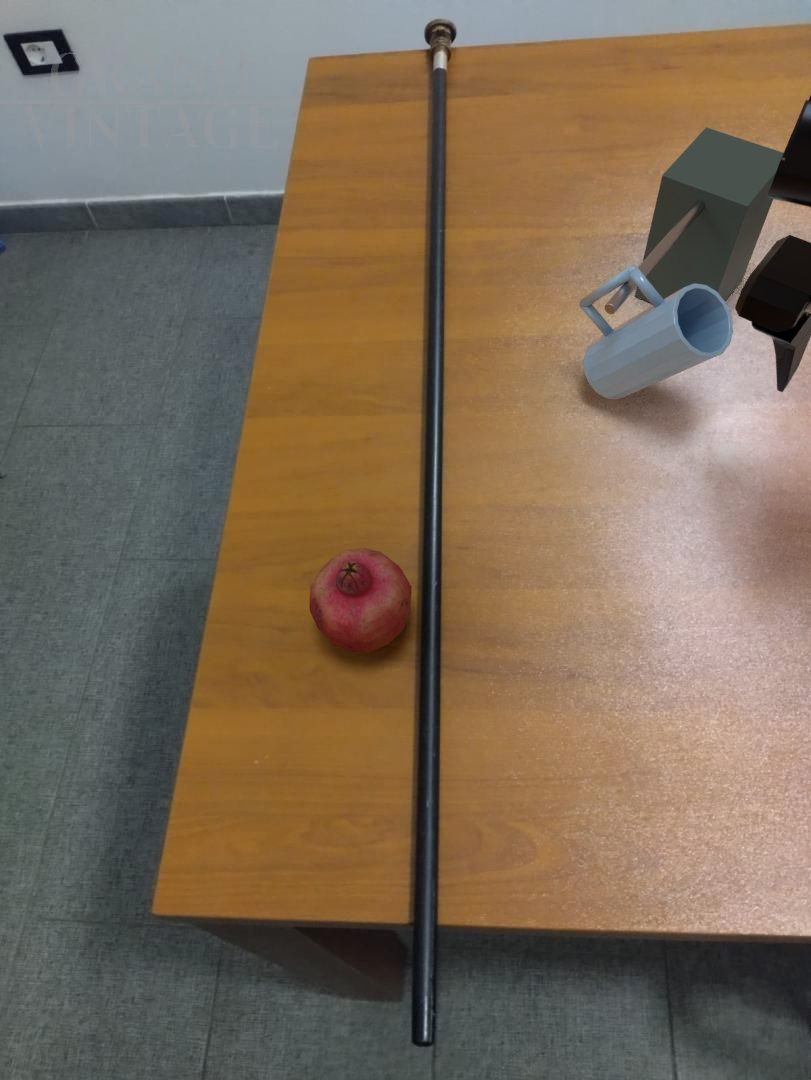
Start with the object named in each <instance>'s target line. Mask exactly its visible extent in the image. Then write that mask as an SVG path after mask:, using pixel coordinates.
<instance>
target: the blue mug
mask: <svg viewBox="0 0 811 1080" xmlns="http://www.w3.org/2000/svg"><path fill="white" fill-rule="evenodd" d="M638 267H639V266H637V265H636V264H635V265H634V264H631V265H629V266H628V267H626V268H624V270H621V271H620V272H619V273H618V274H616V275H615V276H613V277H612V278H610V279H609V280H607V281H606V282H604V283H603V284H602V285H600V286H599V287H597V288H596V289H594V290H592V291H590V293H589V294H587V295H585V296H584V297H582V298H581V299H580V300H579V302H578V306H579V308H580V309H581V311H583V312H584V314H585V315H586V316H587V317H588V318H589V319H590V320H591V322H592V323H593V324H594V325H595V326H596V327H597V329H598V330H599V331H600V332H601V334H602V335H600V336H599V337H597V338H596V339H594V340H593V341H592V342H590V344H589V345H588V346H587V348H586V350H585V352H584V355H583V363H582V365H583V372H584V375H585V378H586V381H587V382H588V385H589V386H590V387H591V388H592V389H593V391H595V393H597V394H598V395H599V396H601V397H603V398H605V399H608V400H620V399H623V398H625V397H627V396H629V395H633V394H635V393H637V392H639V391H641V390H643V389H645V388H647V387H650V386H652V385H655V384H656V383H657V384H658V383H659V382H661V381H663V380H666V379H668V378H670V377H673V376H675V375H677V374H679V373H682V372H684V371H687V370H688V369H691V368H693V367H695V366H698V365H700V364H702V363H704V362H706V361H709V360H711V359H714V358H716V357H718V356H720V355H723V354H724V353H725V352H726V350H727V349H728V347H729V346H730V345H731V342H732V338H733V334H734V325H733V316H732V313H731V311H730V309H729V306H728V304H727V301H726V302H725V301H724V300H723V299H722V297H721V296H720V295H719V294H718V292H716V291H715V290H713V289H712V288H710V287H708V286H707V285H702V284H691V285H689V286H686V287H684V288H682V289H680V290H679V291H677V292H675V293H674V294H672V295H670V296H668V297H667V298H665V299H663V298H662V297H661V295H660V294H659V293H658V292H657V290H656V289H655V288H654V287H653V286H652V284H651V283H650V282H649V281H648V280H647V278H646V277H645V276H644V275H643V273H642V272H641V271H640V270H639V269H638ZM630 279H632V281H633V282H634V283H635V284H636V285H637V287H638V288H639V289H640V290H641V291H642V293H643V294H644V295H645V296H646V297H647V299H648V300H649V301H650V302H651V303H650V304H651V306H650V307H648V308H646V309H644V310H643V311H641V312H640V313H638V314H636V315H634V316H632V317H631V318H629V319H628V320H626V321H624V322H623V323H621V324H618V325H617V326H616V327H614V328H613V327H612V326H611V325H610V324H609V322H608V321H607V319H605V318H604V317H603V315H602V314H601V313H600V312H599V311H598V310H597V308H596V307H595V306H594V305H593V304H595V303H596V302H599V301H600V300H601V299H603V298H604V297H606V296H608V295H609V294H610V293H612V292H613V291H615V290H616V289H618V288H620V287H621V286H622V285H623V284H624V283H625V282H627V281H628V280H630ZM637 287H636V288H637Z"/></svg>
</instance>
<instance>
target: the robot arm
mask: <svg viewBox="0 0 811 1080" xmlns="http://www.w3.org/2000/svg"><path fill="white" fill-rule="evenodd" d="M795 122H796V123H795V125H794V126H793V130H792V132H791V134H790V137H789V139H788V142H787V144H786V146H785V149H784V150H783V156H782V158H781V161H780V163H779V166H778V168H777V171H776V174H775V176H774V179H773V182H772V185H771V187H770V190H769V193H768V196H767V198H770V199H773V200H775V201H779V202H784V203H788V204H789V203H790V204H793V205H799V206H802V207H806V208H811V94H810V95H809V99H805V101H804V103H803V106H802V108H801V110H800V113H799V115H798V118H797V120H796V121H795ZM734 310H735V312H736V313H737V315H738V317H739V318H742V319H744V320H746V321H749V322H751V326H752V329H753V330H755V331H757V332H759V333H762V334H764V335H765V336H768V337H770V338H771V340H772V344H773V348H774V352H775V371H776V375H775V376H776V390H777V391H778V392H780V393H783V392H784V391H785V390H786V389H787V387H788V385H789V384H790V382H791V380H792V379H793V377H794V375H795V373H796V372H797V370H798V368H799V367H800V364H801V362H802V360H803V357H804V354H805V352H806V349H807V347H808V344H809V342H810V339H811V242H810V241H807V240H806V239H802V238H800V237H796V236H794V235H792V234H788V235H786V236H784V237H782V238H780V239H778V240H776V242H775V243H774V244H773V245H772V247H771V248H770V249H769V250H768V252H767V253H766V254H765V255H764V257H762V259H761V261H760V262H759V263H758V264H757V266H756V267H755V268H754V269H753V271H752V272H751V273H750V275H749V276H748V278H747V279H746V281H745V282H744V285H743V287H742V288H741V290H740V293H739V296H738V299H737V301H736V303H735V306H734Z"/></svg>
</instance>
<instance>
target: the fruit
mask: <svg viewBox="0 0 811 1080" xmlns="http://www.w3.org/2000/svg"><path fill="white" fill-rule="evenodd" d="M412 589H413V588H412V585H411V582H410V581H409V579H408V577H407V576H406V575H405V573H404V571H403V569H402V568H401V566H399V564H397V563H396V562H395V561H394V560H392V559H390V558H389V557H388V556H387V555H386V554H384V553H383V552H382V551H379V550H375V549H371V548H366V547H364V548H363V547H362V548H349V549H347V548H346V549H345V550H343V551H342V552H340V553H339V554H337V555H335V556H333V557H332V558H330V560H328V562H327V563H326V564H325V565H324V566H323V567H322V568H321V569H320V571H319V572H318V574H317V575H316V576H315V578H314V580H313V581H312V582H311V584H310V586H309V603H308V606H309V613H310V615H311V617H312V620H313V621H314V623H315V625H316V627H317V628H318V629H319V631H320V632H321V633H322V634H323V635H324V636H325V638H326V639H327V640H328V641H329V642H330V643H331V644H332V645H333V646H335V647H337V648H340V649H343V650H346V651H349V652H352V653H372V652H374V651H377V650H378V649H381V648H383V647H385V646H387V645H389V644H391V643H392V642H393V640H394V639H396V638H397V637H398V635H400V634H401V633H402V632H403V630H404V628H405V626H406V623H407V620H408V618H409V617H410V613H411V603H412Z"/></svg>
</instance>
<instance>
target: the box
mask: <svg viewBox="0 0 811 1080" xmlns="http://www.w3.org/2000/svg"><path fill="white" fill-rule="evenodd" d="M783 153H784V151H780V150H776V149H773V148H770V147H767V146H764V145H762V144H758V143H755V142H753V141H749V140H747V139H743V138H740V137H737V136H734V135H731V134H728V133H725V132H721V131H719V130H717V129H716V130H715V129H712V128H710V127H705V128H704V129H703V130H702V131H701V132H700V134H699V135H697V137H696V138H695V139H694V140H693V141H692V142H691V143H690V144H689V145H688V146H687V148H686V149H685V150H684V151H683V152H682V153H681V154H680V155H679V156H678V157H677V159H675V160H674V162H673V163H672V164H671V165H670V166H669V167H668V168H667V169H666V170H665V172H664V173H663V174H662V175H661V181H660V184H659V188H658V193H657V197H656V200H655V205H654V210H653V214H652V218H651V223H650V228H649V232H648V237H647V241H646V246H645V248H644V249H645V250H644V254H643V258H642V262H641V263H640V264H639V265H638V266H637V267H638V269H639V270H640V271H641V272H642V273H643V275H644V276H645V277H646V278H647V280H648V281H649V282H650V283H651V284H652V286H653V287H654V288H655V289H656V290H657V292H658V293H659V294H660V295H661V297H662V298H663V299H665V298H667V297H668V296H670V295H672V294H674V293H675V292H677V291H679V290H680V289H682V288H684V287H686V286H689V285H691V284H702V285H707V286H708V287H710V288H712V289H713V290H715V291H716V292H718V294H719V295H720V296H721V297H722V299H723V300H724V301H725V302H726V303H727V301H728V299H729V298H730V297H731V295H732V294H733V293H734V291H736V289H737V287H739V285H740V284H741V283H742V282H743V280H744V277H745V275H746V272H747V270H748V268H749V267H748V266H749V264H750V261H751V259H752V256H753V253H754V251H755V248H756V246H757V243H758V240H759V238H760V235H761V232H762V230H763V227H764V225H765V222H766V220H767V217H768V214H769V212H770V209H771V207H772V204H773V201H774V199H770V198H767V196H768V193H769V190H770V187H771V185H772V182H773V179H774V176H775V174H776V171H777V168H778V166H779V163H780V161H781V158H782V156H783ZM634 291H635V294H634V297H635V298H638V299H640V300H642V301H644V302H646V303H649V304H651V302H650V301H649V300H648V299H647V297H646V296H645V295H644V294H643V293H642V291H641V290H640V289H639V288H638V287H637V285H636V284H635V283H634V282H633V281H632V279H630V280H628V281H627V282H625V283H624V284H622V285H621V286H619V289H618V290H617V291H615V292H614V294H613V296H611V298H610V299H609V300H608V301H607V302H606V304H604V311H605V312H606V313H607V314H609V315H614V314H615V313H616V312H617V311H618V310H619V309H620V308H621V306H622V305H623V304H624V303H625V302H626V300H627V299H628V298H629V297H630V296H631V295H632V294H633V292H634Z"/></svg>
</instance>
